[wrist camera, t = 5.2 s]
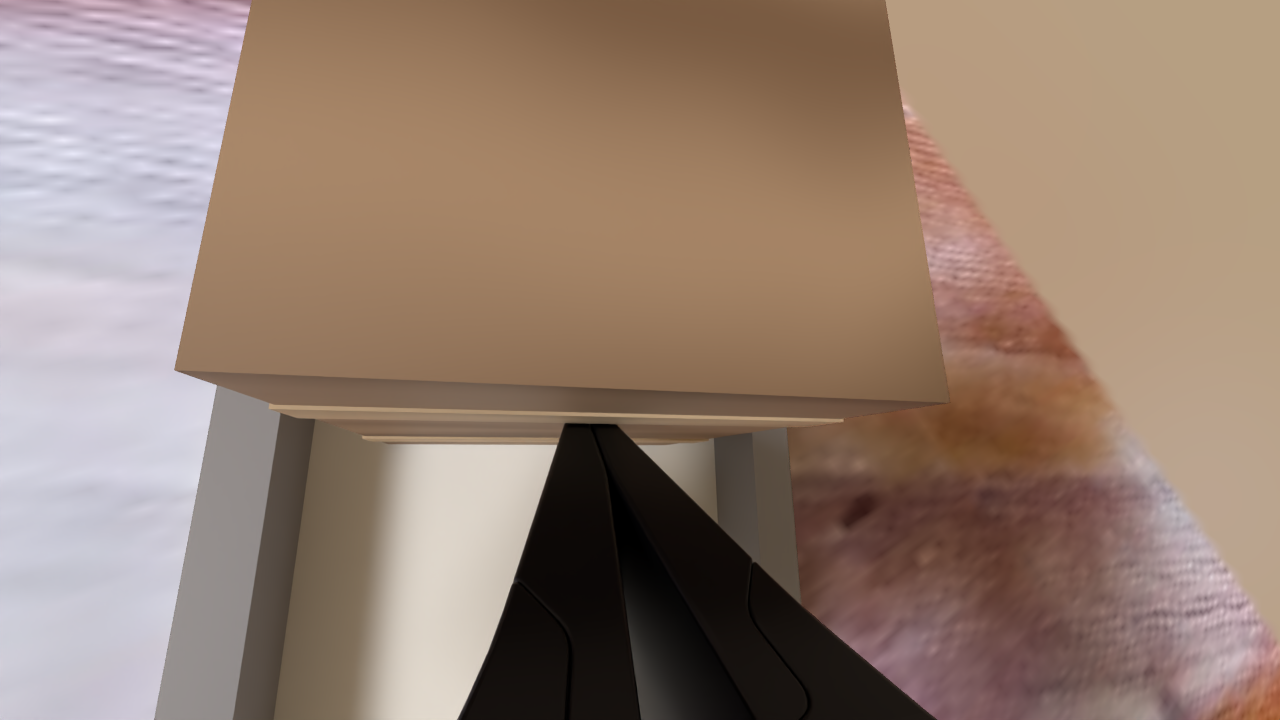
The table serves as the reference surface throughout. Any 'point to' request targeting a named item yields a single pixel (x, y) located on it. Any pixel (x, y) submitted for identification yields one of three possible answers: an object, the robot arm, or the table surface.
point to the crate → (566, 220)
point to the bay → (390, 561)
